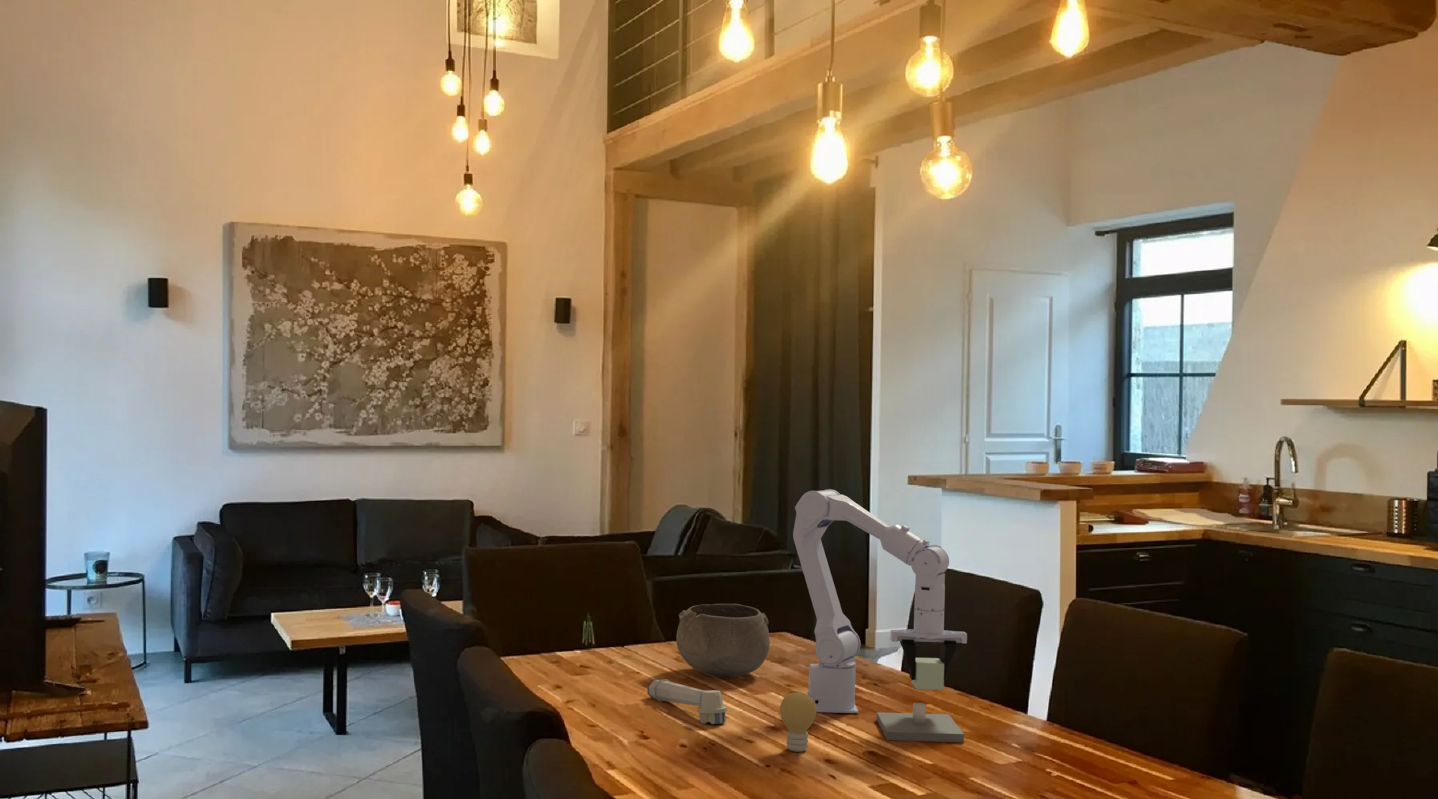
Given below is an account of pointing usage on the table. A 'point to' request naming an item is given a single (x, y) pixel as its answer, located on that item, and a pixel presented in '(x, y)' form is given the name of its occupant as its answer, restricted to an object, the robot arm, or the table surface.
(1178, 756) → the table surface
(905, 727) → the post board
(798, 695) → the light bulb
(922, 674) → the pale green cube
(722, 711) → the toothbrush head
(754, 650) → the clay pot
